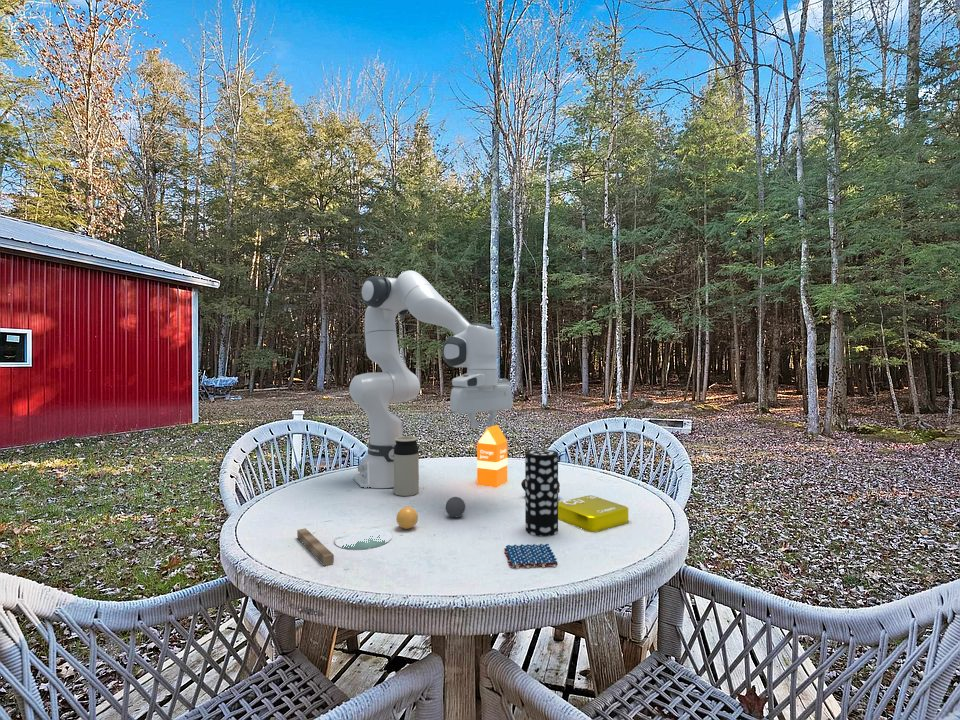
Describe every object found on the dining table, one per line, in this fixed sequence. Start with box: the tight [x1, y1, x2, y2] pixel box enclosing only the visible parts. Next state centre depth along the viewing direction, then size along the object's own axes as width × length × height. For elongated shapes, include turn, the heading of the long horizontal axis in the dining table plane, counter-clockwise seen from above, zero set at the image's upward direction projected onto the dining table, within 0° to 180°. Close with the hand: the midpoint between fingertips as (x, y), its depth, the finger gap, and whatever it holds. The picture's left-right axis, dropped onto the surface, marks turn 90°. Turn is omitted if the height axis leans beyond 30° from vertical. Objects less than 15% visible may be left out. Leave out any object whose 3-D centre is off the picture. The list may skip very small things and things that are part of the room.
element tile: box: [558, 494, 629, 533], centre depth 134 cm, size 15×15×5 cm
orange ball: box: [396, 506, 419, 530], centre depth 128 cm, size 6×6×6 cm
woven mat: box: [503, 543, 558, 570], centre depth 109 cm, size 10×11×2 cm
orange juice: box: [476, 424, 508, 488], centre depth 172 cm, size 8×9×20 cm
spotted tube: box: [524, 448, 559, 537], centre depth 126 cm, size 8×8×20 cm
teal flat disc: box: [341, 535, 388, 550], centre depth 121 cm, size 14×14×1 cm
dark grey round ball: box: [445, 496, 466, 518], centre depth 137 cm, size 6×6×6 cm
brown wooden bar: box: [296, 528, 335, 567], centre depth 114 cm, size 20×2×2 cm, turn 36°
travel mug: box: [393, 435, 420, 497], centre depth 160 cm, size 8×8×18 cm
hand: (482, 427), depth 142 cm, fingers open, 4 cm apart
